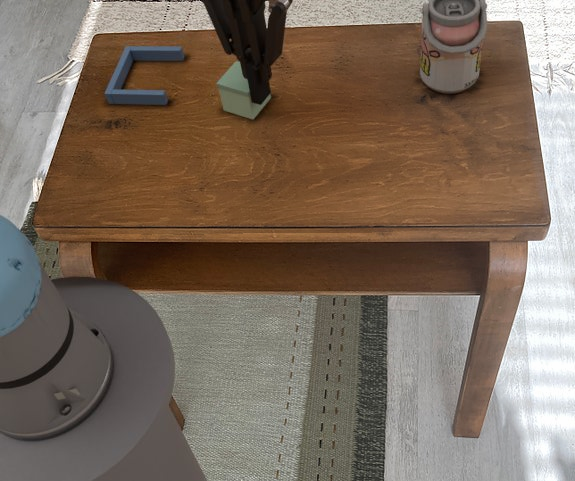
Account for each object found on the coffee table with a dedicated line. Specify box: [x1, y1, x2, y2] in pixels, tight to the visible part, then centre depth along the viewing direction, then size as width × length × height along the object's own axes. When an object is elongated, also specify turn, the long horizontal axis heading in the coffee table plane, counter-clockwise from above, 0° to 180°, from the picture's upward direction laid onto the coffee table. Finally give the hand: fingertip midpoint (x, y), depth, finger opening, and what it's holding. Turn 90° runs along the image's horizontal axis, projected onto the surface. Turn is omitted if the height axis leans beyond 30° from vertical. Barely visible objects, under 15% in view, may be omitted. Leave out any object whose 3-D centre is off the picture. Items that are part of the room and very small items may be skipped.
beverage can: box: [419, 0, 489, 94], centre depth 101 cm, size 9×8×12 cm
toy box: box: [215, 60, 272, 121], centre depth 105 cm, size 5×5×5 cm
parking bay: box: [104, 45, 185, 106], centre depth 112 cm, size 9×11×2 cm
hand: (261, 97), depth 103 cm, fingers closed
